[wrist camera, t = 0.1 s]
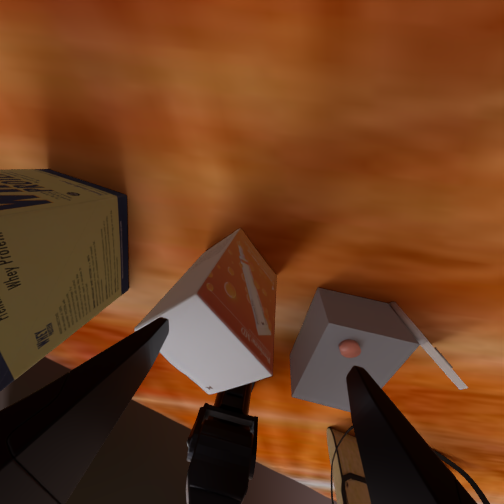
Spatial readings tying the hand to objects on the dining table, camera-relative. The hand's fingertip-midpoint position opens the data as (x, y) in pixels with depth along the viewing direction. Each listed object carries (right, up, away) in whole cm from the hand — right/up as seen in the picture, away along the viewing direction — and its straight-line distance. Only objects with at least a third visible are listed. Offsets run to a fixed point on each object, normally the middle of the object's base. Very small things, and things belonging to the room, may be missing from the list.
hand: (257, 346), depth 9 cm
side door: (+21, -5, +15) cm, 26 cm away
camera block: (+12, -7, +18) cm, 22 cm away
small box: (-2, +3, +15) cm, 16 cm away
